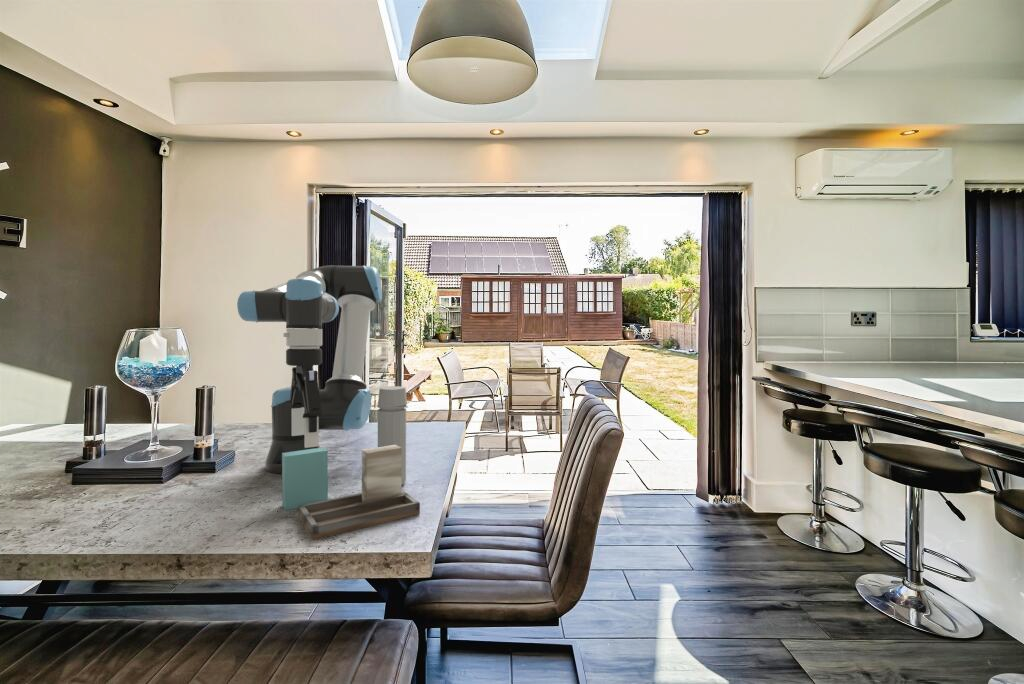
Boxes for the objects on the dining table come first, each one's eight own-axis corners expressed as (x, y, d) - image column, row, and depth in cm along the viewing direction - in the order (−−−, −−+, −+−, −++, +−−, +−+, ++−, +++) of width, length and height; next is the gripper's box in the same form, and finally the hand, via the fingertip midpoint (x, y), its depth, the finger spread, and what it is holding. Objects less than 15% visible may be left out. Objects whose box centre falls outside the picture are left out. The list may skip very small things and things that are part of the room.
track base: (298, 517, 100) (297, 456, 100) (396, 496, 113) (396, 442, 113) (313, 540, 90) (312, 472, 89) (419, 513, 103) (419, 454, 102)
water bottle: (400, 490, 117) (400, 390, 116) (371, 487, 119) (371, 389, 118) (414, 478, 126) (415, 385, 125) (387, 476, 128) (387, 384, 127)
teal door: (282, 505, 107) (282, 453, 106) (323, 497, 112) (323, 447, 112) (285, 510, 104) (285, 456, 104) (327, 501, 109) (327, 450, 109)
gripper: (276, 346, 115) (276, 432, 115) (298, 350, 95) (298, 454, 95) (309, 345, 119) (309, 429, 120) (336, 349, 99) (336, 449, 99)
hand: (304, 440), depth 107 cm, fingers open, 13 cm apart
